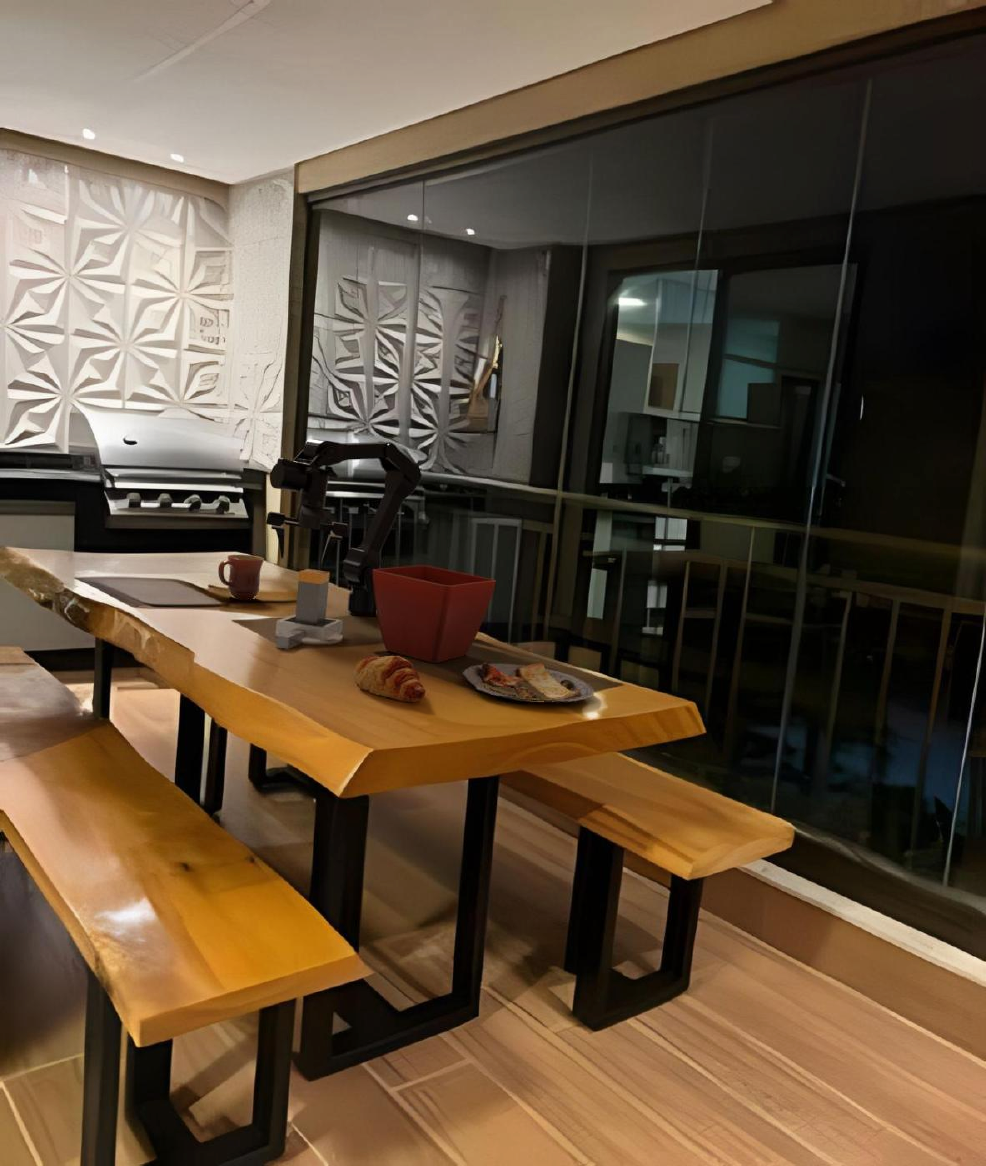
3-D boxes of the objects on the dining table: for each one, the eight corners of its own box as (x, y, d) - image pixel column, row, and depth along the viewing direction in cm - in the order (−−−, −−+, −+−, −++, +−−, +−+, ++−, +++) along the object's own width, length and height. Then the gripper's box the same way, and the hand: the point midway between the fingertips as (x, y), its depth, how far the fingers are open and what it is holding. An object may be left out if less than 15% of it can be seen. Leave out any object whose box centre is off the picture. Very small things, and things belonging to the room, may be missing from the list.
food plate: (449, 670, 190) (451, 652, 190) (559, 675, 198) (561, 658, 197) (486, 711, 167) (489, 691, 166) (609, 715, 174) (612, 696, 174)
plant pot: (489, 657, 206) (498, 579, 204) (439, 670, 190) (448, 585, 187) (416, 639, 216) (423, 564, 213) (362, 650, 199) (370, 569, 197)
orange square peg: (303, 628, 208) (308, 568, 207) (324, 632, 208) (329, 572, 206) (294, 632, 204) (299, 571, 202) (315, 635, 203) (320, 574, 201)
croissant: (341, 695, 178) (326, 658, 174) (384, 666, 183) (371, 630, 179) (407, 726, 162) (392, 687, 158) (452, 694, 167) (438, 655, 163)
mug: (245, 594, 246) (248, 554, 245) (268, 600, 241) (271, 559, 239) (206, 597, 236) (209, 555, 235) (228, 603, 231) (232, 561, 230)
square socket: (292, 626, 214) (293, 610, 214) (351, 636, 211) (353, 620, 211) (249, 643, 194) (250, 626, 194) (315, 653, 191) (316, 636, 191)
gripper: (271, 488, 212) (260, 558, 213) (356, 502, 216) (345, 571, 218) (271, 487, 223) (261, 554, 224) (352, 500, 227) (342, 566, 228)
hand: (302, 561), depth 223 cm, fingers open, 9 cm apart
